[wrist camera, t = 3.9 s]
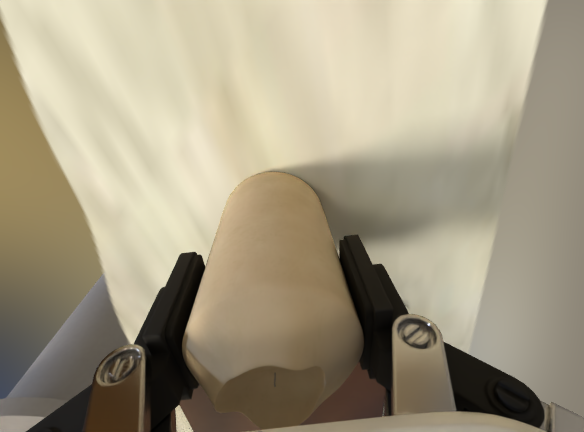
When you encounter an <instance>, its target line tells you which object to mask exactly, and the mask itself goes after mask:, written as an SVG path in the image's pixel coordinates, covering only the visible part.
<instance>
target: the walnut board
mask: <svg viewBox="0 0 584 432" xmlns="http://www.w3.org/2000/svg"><path fill="white" fill-rule="evenodd" d="M384 397H385V387H383V386H382V385H380V384H379V383H377V382H376V379H370V378H369V375H368V371H367V370H362V368H361V366H360V362H358V363H357V365H356V367H355V368H354V370H353V371H352V373H351V374H350V376H349V377H348V378H347V379H346V380H345V382H344V383H343V384H342V385H341V386H340V387H339V388H338V389H337V390H336V391H335V392H334V393H333V394H331V395H330V396H329V397H328V398H327V399H326V400H325V401H324V402H323V403H322V404H321V405H320V406H318V407H317V409H316V410H315V411H314V412H313V413H312V414H311V415H310V416H309V417H308V418H307V419H306V420H305V421H304V422H302V423H301V424H300V425H298V426H301V425H310V424H319V423H329V422H338V421H348V420H357V419H366V418H376V417H382V413H383V406H384ZM179 405H180V406H181V408H182V410H183V412H184V414H185V416H186V418H187V420H188V422H189V423H190V425H191V427H192V429H193V431H194V432H247V431H256V430H262V429H260V428H259V427H257V426H256V425H255V424H254V423H253V422H252V421H250V420H249V419H248V418H247V417H246V416H245V415H243V414H242V413H240V412H226V413H219V412H217V411H216V410H215V408H214V406H213V404H212V402H211V400H210V399H209V397H208V396H207V394H206V393H205V391H204V390H203V388H202V387H201V386H200V384H199V386H198V388H197V389H194V390H193V394H192V399H189V400H181V401H180V404H179Z"/></svg>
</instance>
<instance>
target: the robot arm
mask: <svg viewBox="0 0 584 432" xmlns="http://www.w3.org/2000/svg"><path fill="white" fill-rule="evenodd" d="M339 260H340V263H341V266H342V269H343V272H344V275H345V278H346V281H347V284H348V287H349V290H350V293H351V296H352V299H353V302H354V305H355V308H356V311H357V314H358V317H359V321H360V324H361V327H362V330H363V334H364V348H363V352H362V355H361V358H360V360H359V362H360V366H361V368H362V370H367V371H368V375H369V378H370V379H376V382H377V383H379V384H380V385H382V386H383V387H385V397H384V417H376V418H366V419H357V420H348V421H338V422H329V423H319V424H310V425H301V426H292V427H283V428H274V429H265V430H256V431H247V432H584V417H582V416H580V415H578V414H576V413H574V412H571V411H569V410H567V409H565V408H563V407H561V406H559V405H557V404H555V403H553V402H551V403H550V405H548V404H546V403H544V402H542V401H540V400H539V399H538V397H537V396H536V395H535V393H534V392H533V391H532V390H531V389H530V388H529V387H527V386H526V385H525V384H524V383H522V382H521V381H519V380H517V379H516V378H514V377H512V376H510V375H508V374H506V373H504V372H502V371H500V370H498V369H496V368H494V367H492V366H490V365H489V364H487V363H485V362H483V361H481V360H478V359H477V358H475V357H473V356H471V355H469V354H467V353H465V352H463V351H461V350H459V349H457V348H455V347H453V346H451V345H449V344H447V343H445V342H443V338H442V335H441V332H440V330H439V329H438V327H437V326H436V325H435V324H434V323H433V322H431V321H430V320H429V319H427V318H425V317H423V316H419V315H415V314H409V313H408V311H407V309H406V307H405V306H404V304H403V302H402V300H401V298H400V296H399V294H398V292H397V290H396V288H395V287H394V285H393V283H392V281H391V279H390V277H389V275H388V273H387V271H386V269H385V268H384V266H383V265H382V264H374V265H372V263H371V261H370V258H369V256H368V254H367V252H366V250H365V248H364V246H363V244H362V242H361V240H360V237H359V236H358V235H349V236H344V240H340V241H339ZM204 270H205V265H204V262H203V258H202V256H201V255H197V253H196V252H189V253H182V254H180V256H179V258H178V260H177V262H176V265H175V267H174V269H173V271H172V273H171V275H170V277H169V280H168V282H167V284H166V286H165V287H163V288H161V289H160V291H159V293H158V295H157V297H156V299H155V301H154V303H153V305H152V307H151V309H150V311H149V313H148V316H147V318H146V320H145V322H144V324H143V326H142V328H141V330H140V332H139V334H138V336H137V338H136V340H135V342H134V345H133V344H130V345H126V346H122V347H120V348H118V349H116V350H114V351H113V352H111V353H110V354H108V355H107V356H106V357H105V358H104V359H103V360H102V361H101V363H100V364H99V365H98V367H97V368H96V371H95V374H94V377H93V382H92V385H90V386H89V387H87V388H86V389H85V390H83V391H82V392H81V393H79V394H78V395H76V396H75V397H74V398H72V399H71V400H69V401H68V402H67V403H65V404H64V405H62V406H61V407H60V408H58V409H57V410H55V411H54V412H53V413H51V414H50V415H49V416H47V417H46V418H44V419H43V420H42V421H40V422H39V423H37V424H36V425H35V426H33V427H32V428H30V429H29V430H28V431H26V432H176V414H175V408H176V407H177V406H178V405H179V404H180V401H181V400H189V399H192V394H193V390H194V389H197V388H198V386H199V383H198V381H197V380H196V379H195V377H194V376H193V374H192V373H191V372H190V370H189V369H188V367H187V365H186V363H185V361H184V358H183V354H182V342H183V336H184V333H185V330H186V327H187V323H188V320H189V317H190V314H191V311H192V308H193V304H194V301H195V298H196V295H197V292H198V289H199V286H200V282H201V279H202V276H203V273H204Z"/></svg>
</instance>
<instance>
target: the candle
mask: <svg viewBox="0 0 584 432" xmlns="http://www.w3.org/2000/svg"><path fill="white" fill-rule="evenodd" d="M363 348H364V334H363V330H362V327H361V324H360V321H359V317H358V314H357V311H356V308H355V305H354V302H353V299H352V296H351V293H350V290H349V287H348V284H347V281H346V278H345V275H344V272H343V269H342V266H341V263H340V260H339V256H338V253H337V250H336V247H335V244H334V241H333V238H332V235H331V232H330V229H329V226H328V223H327V220H326V217H325V214H324V211H323V208H322V206H321V203H320V200H319V198H318V197H317V195H316V194H315V192H314V191H313V190H312V188H311V187H310V186H309V185H308V184H306V183H305V182H304V181H302V180H301V179H299V178H297V177H295V176H293V175H290V174H286V173H281V172H266V173H261V174H257V175H254V176H252V177H250V178H248V179H246V180H244V181H243V182H242V183H240V184H239V185H238V186H237V187H236V188H235V189H234V191H233V192H232V193H231V195H230V196H229V198H228V200H227V202H226V205H225V208H224V211H223V213H222V216H221V220H220V223H219V226H218V229H217V232H216V235H215V238H214V242H213V245H212V248H211V251H210V254H209V257H208V260H207V264H206V267H205V270H204V273H203V276H202V279H201V282H200V286H199V289H198V292H197V295H196V298H195V301H194V304H193V308H192V311H191V314H190V317H189V320H188V323H187V327H186V330H185V333H184V336H183V342H182V354H183V358H184V361H185V363H186V365H187V367H188V369H189V370H190V372H191V373H192V374H193V376H194V377H195V379H196V380H197V381H198V383H199V384H200V386H201V387H202V388H203V390H204V391H205V393H206V394H207V396H208V397H209V399H210V400H211V402H212V404H213V406H214V408H215V410H216V411H217V412H219V413H226V412H240V413H242V414H243V415H245V416H246V417H247V418H248V419H249V420H250V421H252V422H253V423H254V424H255V425H256V426H257V427H259V428H260V429H262V430H265V429H274V428H283V427H292V426H298V425H300V424H301V423H302V422H304V421H305V420H306V419H307V418H308V417H309V416H310V415H311V414H312V413H313V412H314V411H315V410H316V409H317V407H318V406H320V405H321V404H322V403H323V402H324V401H325V400H326V399H327V398H328V397H329V396H330V395H331V394H333V393H334V392H335V391H336V390H337V389H338V388H339V387H340V386H341V385H342V384H343V383H344V382H345V380H346V379H347V378H348V377H349V376H350V374H351V373H352V371H353V370H354V368H355V367H356V365H357V363H358V362H359V360H360V358H361V355H362V352H363Z"/></svg>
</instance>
